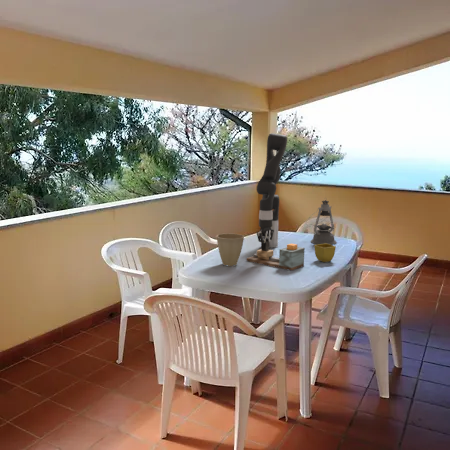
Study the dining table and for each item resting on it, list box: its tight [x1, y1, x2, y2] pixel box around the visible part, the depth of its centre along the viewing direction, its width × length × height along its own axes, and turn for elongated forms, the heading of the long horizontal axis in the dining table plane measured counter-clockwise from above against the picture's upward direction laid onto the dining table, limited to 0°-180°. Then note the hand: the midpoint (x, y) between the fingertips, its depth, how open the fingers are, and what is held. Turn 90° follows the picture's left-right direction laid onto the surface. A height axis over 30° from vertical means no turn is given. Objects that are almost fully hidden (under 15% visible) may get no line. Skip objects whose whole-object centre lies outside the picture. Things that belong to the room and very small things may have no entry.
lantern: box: [305, 198, 338, 245], centre depth 307 cm, size 18×20×30 cm
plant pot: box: [216, 233, 245, 267], centre depth 251 cm, size 15×15×16 cm
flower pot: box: [313, 243, 337, 263], centre depth 260 cm, size 9×9×9 cm
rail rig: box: [246, 246, 305, 271], centre depth 254 cm, size 30×12×10 cm, turn 49°
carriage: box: [256, 241, 274, 260], centre depth 258 cm, size 7×6×10 cm
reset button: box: [286, 243, 298, 250], centre depth 246 cm, size 4×4×3 cm
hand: (265, 248), depth 258 cm, fingers closed on carriage, 3 cm apart
